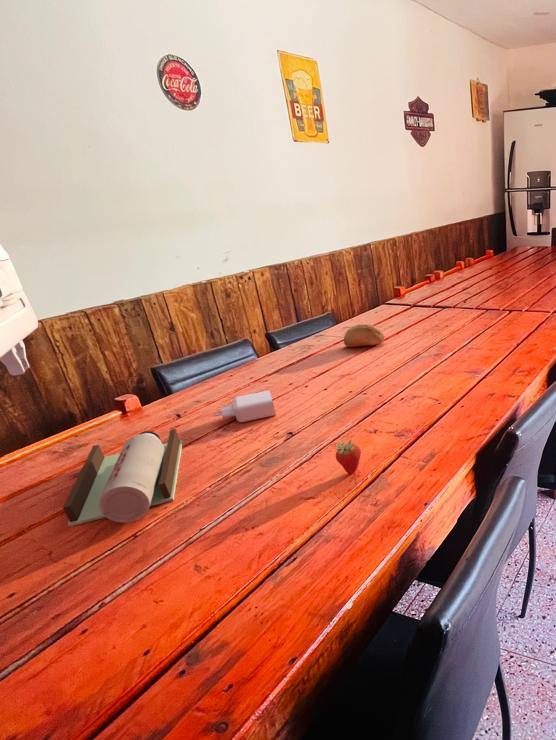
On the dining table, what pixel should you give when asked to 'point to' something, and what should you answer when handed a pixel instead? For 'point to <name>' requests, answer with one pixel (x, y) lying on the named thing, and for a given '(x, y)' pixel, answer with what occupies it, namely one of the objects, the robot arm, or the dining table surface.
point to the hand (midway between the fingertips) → (20, 372)
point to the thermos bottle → (133, 479)
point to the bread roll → (363, 335)
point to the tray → (96, 475)
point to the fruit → (348, 456)
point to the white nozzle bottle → (249, 407)
